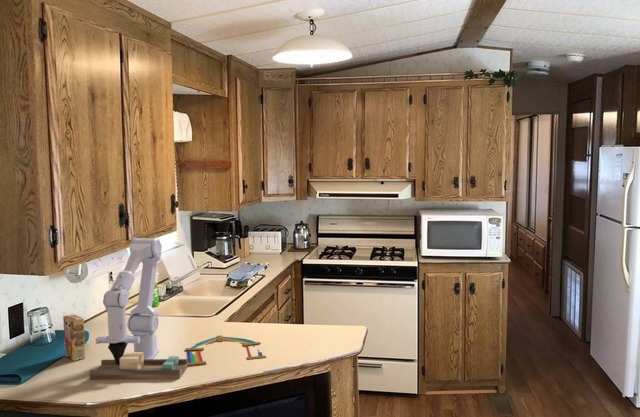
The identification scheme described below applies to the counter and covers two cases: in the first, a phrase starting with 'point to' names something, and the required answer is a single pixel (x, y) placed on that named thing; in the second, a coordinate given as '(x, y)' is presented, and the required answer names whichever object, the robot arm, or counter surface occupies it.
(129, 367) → the beige box
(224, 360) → the counter surface
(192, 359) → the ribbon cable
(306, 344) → the counter surface
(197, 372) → the counter surface
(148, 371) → the guide track
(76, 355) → the candy box
